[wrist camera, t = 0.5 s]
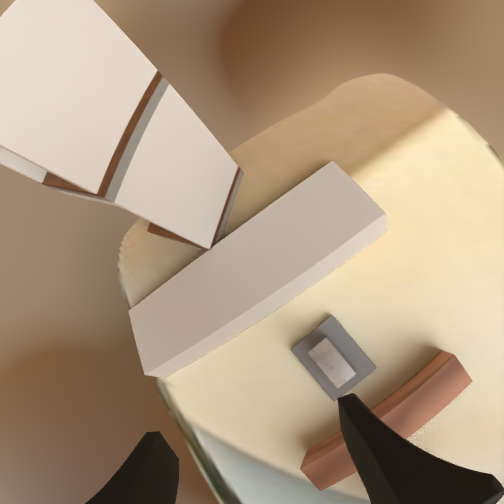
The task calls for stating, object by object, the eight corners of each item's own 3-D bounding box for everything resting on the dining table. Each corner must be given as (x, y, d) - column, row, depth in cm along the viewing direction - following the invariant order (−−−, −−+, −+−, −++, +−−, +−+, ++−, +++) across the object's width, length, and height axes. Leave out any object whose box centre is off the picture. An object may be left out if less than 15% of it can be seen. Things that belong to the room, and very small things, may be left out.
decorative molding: (151, 319, 44) (169, 378, 38) (128, 311, 40) (144, 374, 34) (340, 183, 39) (387, 233, 33) (332, 160, 35) (385, 213, 29)
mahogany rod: (457, 373, 27) (472, 381, 22) (324, 471, 29) (320, 490, 24) (441, 349, 28) (454, 354, 23) (306, 450, 30) (299, 468, 26)
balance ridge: (375, 366, 30) (378, 373, 26) (334, 399, 31) (332, 409, 27) (332, 315, 33) (330, 315, 29) (292, 348, 33) (285, 352, 30)
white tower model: (181, 164, 44) (1, 16, 12) (243, 172, 40) (55, -37, 8) (155, 234, 43) (-70, 129, 10) (216, 252, 39) (-62, 111, 7)
